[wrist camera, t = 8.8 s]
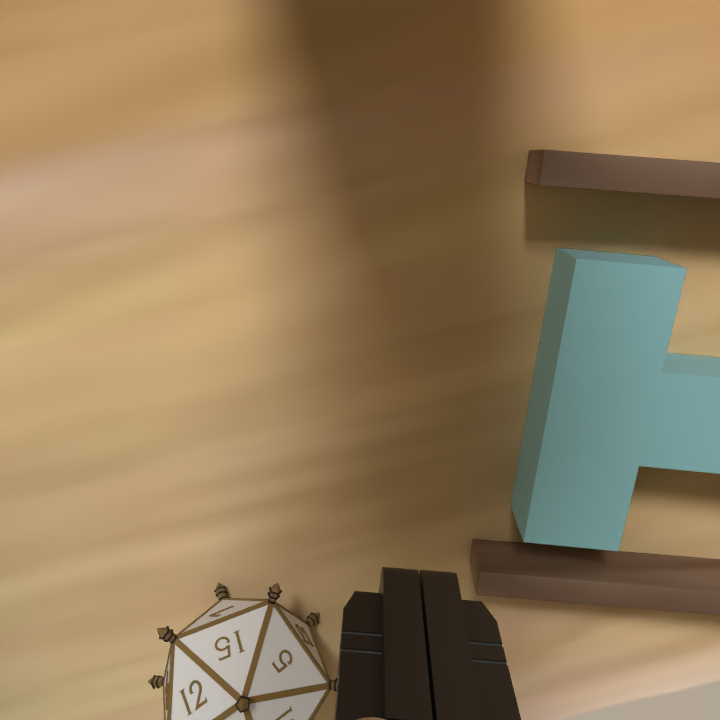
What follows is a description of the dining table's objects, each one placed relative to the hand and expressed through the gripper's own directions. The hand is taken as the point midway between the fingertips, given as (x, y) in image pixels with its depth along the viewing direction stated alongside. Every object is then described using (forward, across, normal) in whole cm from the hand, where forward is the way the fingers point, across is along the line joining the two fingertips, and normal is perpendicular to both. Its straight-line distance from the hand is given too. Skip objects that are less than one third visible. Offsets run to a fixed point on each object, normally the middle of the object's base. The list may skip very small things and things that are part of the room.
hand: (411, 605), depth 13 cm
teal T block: (+15, -12, +1) cm, 19 cm away
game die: (+16, +5, +15) cm, 22 cm away
